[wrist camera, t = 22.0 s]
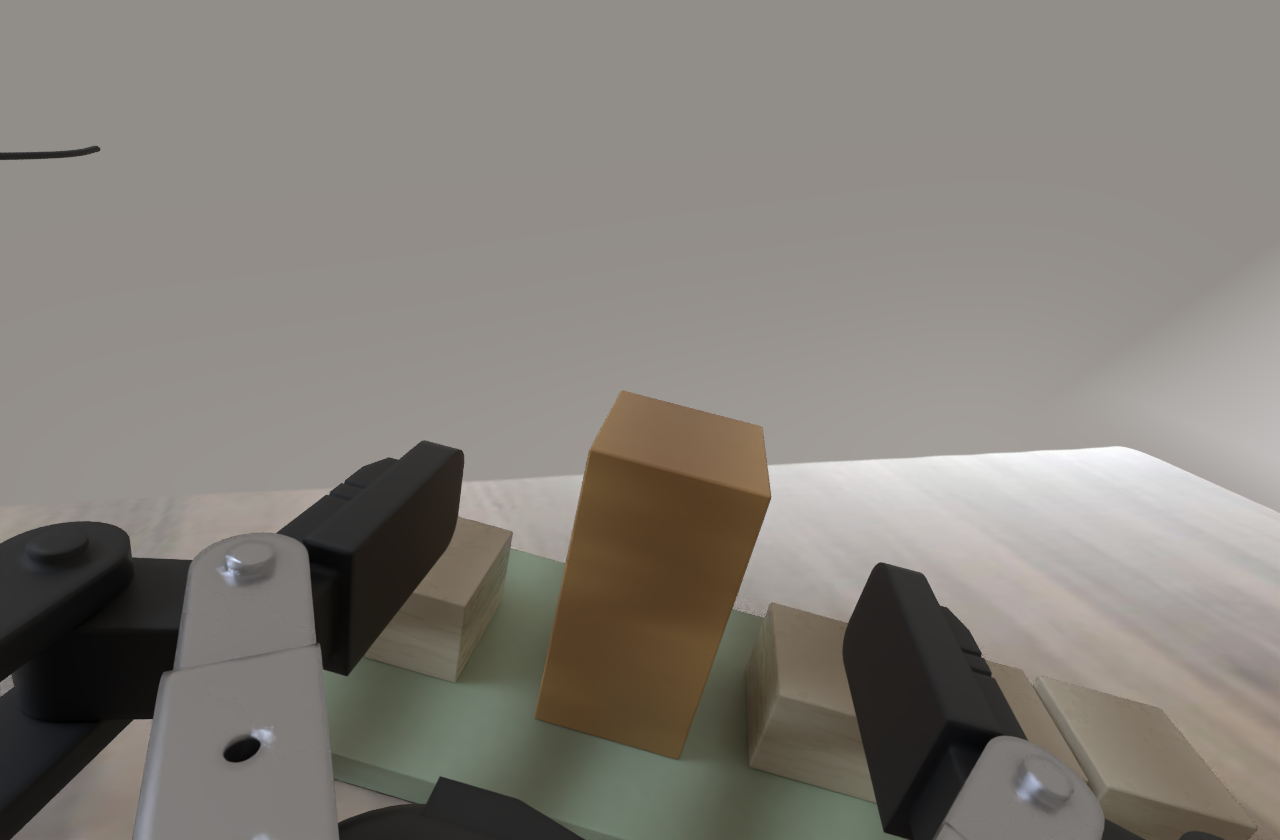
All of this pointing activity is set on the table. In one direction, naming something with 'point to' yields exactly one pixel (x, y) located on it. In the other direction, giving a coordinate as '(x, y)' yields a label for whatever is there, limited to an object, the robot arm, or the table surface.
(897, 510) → the table surface
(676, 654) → the brown wooden tall block
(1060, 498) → the table surface
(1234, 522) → the table surface
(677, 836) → the green block tray
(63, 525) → the robot arm
